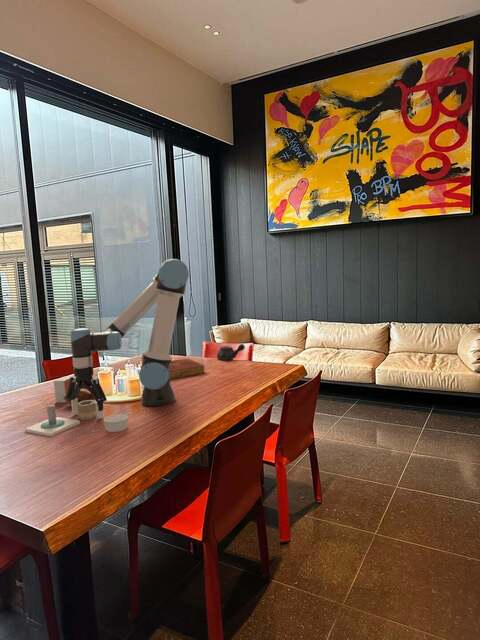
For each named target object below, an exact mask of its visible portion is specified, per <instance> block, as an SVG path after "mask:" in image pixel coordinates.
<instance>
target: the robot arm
mask: <svg viewBox="0 0 480 640" xmlns="http://www.w3.org/2000/svg"><path fill="white" fill-rule="evenodd" d="M188 279H189V268H188V266H187V265H186V264H185V262H183V260H181V259H178V258H169V259H166V260H165V261H164V262H162V263H161V264H160V267H159V268H158V272H157V274H155V276H154V277H153V278H152V282H151V283H150V284H149V285H148V286H147V287H146V288H145V289H144V290H143V291H142V292H141V293H140V294H139V295H138V296H137V298H136V299H134V300H133V302H131V303H130V305H129V306H127V308H126V309H124V310H123V311H122V313H120V314H119V315H118V316H117V318H115V320H114V321H112V323H110V325H108V327H106V329H104V331H102V332H91V330H90V328H87V327H82V328H75V329H72V330H71V331H70V346H71V353H72V365H73V367H74V368H73V376H69V377H70V384H69V387H68V391H67V394H66V398H69V399H70V402H71V405H70V407H71V412H72V414H71V415H72V416H75V415H78V408H77V403H78V399H77V397H76V396H77V395H78V393H79V391H81V390H82V389H83V390H87V392H88V393H90V394H91V395H92V396H93V397H94V399H95V400H94V401H96V414H97V417H96V419H97V420H100V419H102V418H104V413H103V412H104V402H107V401H108V399H107V397H106V393H105V392H104V390H103V388H102V385H101V383H100V378H93V375H94V366H93V353H92V352H102V351H103V352H104V351H112V352H113V351H117V350H120V349H121V348H122V344H123V343H122V338H123V337H124V336H125V335H126V334H127V333H128V332H129V331H130V330H131V329H132V328H133V327H134V326H135V325H136V324H137V323H138V322H139V321H140V320H141V319H142V318H144V317H145V315H146V314H147V313H148V312H149V311H150V310H152V308H153V307H154V306H155V305H156V308H155V312H154V313H155V314H154V319H153V323H152V330H151V333H150V339H149V345H148V348H147V349H148V350H146V351H145V352H143V353H142V354H141V360H142V362H141V365H140V370H139V373H138V377H139V382H140V383H141V384H142V385H143V388H142V389H143V390H142V394H141V398H140V402H141V404H142V405H144V406H146V407H162V406H166V405H170V404H171V403H173V402H175V400H176V395H175V392H174V389H173V386H172V384H171V379H170V372H169V369H170V364H171V361H172V357H171V355H170V349H171V344H172V339H173V334H174V330H175V324H176V319H177V313H178V308H179V303H180V299H181V297H184V295H185V292H186V286H187V282H188ZM75 398H76V399H75Z"/></svg>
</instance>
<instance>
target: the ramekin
mask: <svg viewBox="0 0 480 640" xmlns="http://www.w3.org/2000/svg"><path fill="white" fill-rule="evenodd" d="M128 418H129V415H127V414H123V413H118V414H117V413H116V414H111V415H107V416H106V417H103V422H104V427H105V431H106V432H108V433H120V432H123V431H125V430H126V429H127V428H128V420H129V419H128Z"/></svg>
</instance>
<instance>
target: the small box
mask: <svg viewBox="0 0 480 640" xmlns="http://www.w3.org/2000/svg"><path fill="white" fill-rule="evenodd" d="M70 377H71V376H62V377H60V378H58V379H55V380H53V387H54V397H55V403H62V404H64V403H65V404H67V402H66V401H65V400H64V399H63V398H64V397H65V396H66V394H67V391H68V387H69V384H70Z"/></svg>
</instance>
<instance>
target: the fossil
mask: <svg viewBox="0 0 480 640" xmlns="http://www.w3.org/2000/svg"><path fill="white" fill-rule="evenodd" d="M76 397H77V399H78V403H79V402H81V401H86V400H94V401H96V400H95V399H94V397H93V396H92V395H91V393H90V392H89V391H86V390H84V389H83V390H82V389H81V390H80V391H79V393H78V395H77V396H76ZM63 399H64V400H65V401H66V403H67V404H69V405H70V406H71V402H70V399H69V398H66V396H65V397H64V398H63ZM75 399H76V398H75Z"/></svg>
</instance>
